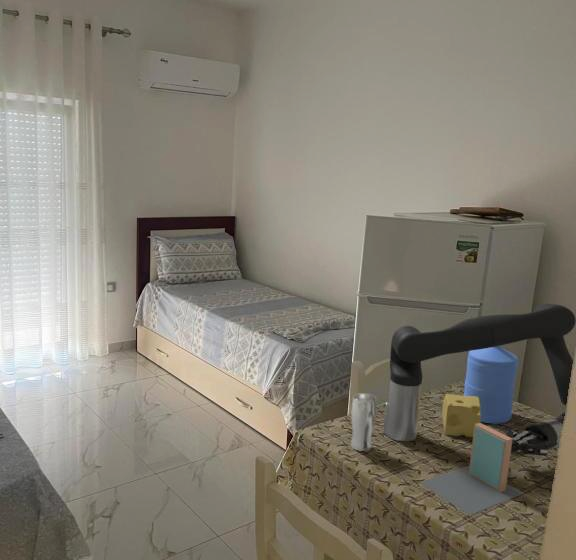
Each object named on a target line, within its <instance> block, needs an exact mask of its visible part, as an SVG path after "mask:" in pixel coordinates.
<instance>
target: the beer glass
mask: <svg viewBox="0 0 576 560" xmlns="http://www.w3.org/2000/svg"><path fill="white" fill-rule="evenodd" d="M350 410H351V412H350V415H351V418H350V420H351V428H352V429H351V430H352V437H351V441H350V448H351V447H352V448H353V450H354V449H355V450H354V451H356V450H359V451H358V452H361V451H365V452H369V451H371V450H372V448H373V447H372V433H373V429H374V425H375V421H376V416H377V396H375V395H373V394H371V393H365V392H359V393H355V394H353V396H352V404H351V409H350ZM352 448H351V449H352Z"/></svg>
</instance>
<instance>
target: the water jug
mask: <svg viewBox="0 0 576 560" xmlns="http://www.w3.org/2000/svg"><path fill="white" fill-rule="evenodd" d="M466 361H467V365H466V375H465V380H464V393H463V396H477V397H478V398H479V402H480V414H481V422H480V423H484V424H491V425H496V424H499V425H500V424H504V423H508V422H509V421H510V420H511V419H512V413H513V403H514V398H513V397H514V390H515V384H516V379H517V372H518V368H519V358H518V356H516V355H515V354H514V353H512V352H510V351H509V350H507V349H505V348H503V347H501V345H500V346H496V347H491V348H485V349H479V350H472V351H468V356H467V359H466Z"/></svg>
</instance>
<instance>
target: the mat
mask: <svg viewBox="0 0 576 560" xmlns="http://www.w3.org/2000/svg"><path fill="white" fill-rule="evenodd" d="M469 468H470V464H469V465H466V466H463V467H460V468H458V469H454V470H451V471H449V472H446V473H443V474H442V473H441V474H440V475H437V476H436V475H435V476H434V477H431V478H428V479H425V480H422V481H419V484H421V485H423V486H424V487H426V488H427V489H428V490H430V491H432V492H433V493H435V494H436V495H438V496H440V497H441V498H442V499H444V500H445V501H447V502H448V503H450V504H452V505H453V506H454V507H456V508H457V509H459V510H460V511H461V512H464V513H465V515H468V516H472V515H474V514H476V513H480V512H481V511H484V510H486V509H489V508H491V507H494V506H496V505H499V504H501V503H504V502H506V501H508V500H510V499H513V498H516V497H519V496H520V495H523V494H524V492H522V491H520V490H519V489H517V488H515V487H513V486H512V485H510V484H508V483H507V484H506V490H505V491H503V492H499V491H497V490H496V489H494V488H492V487H490V486H489V485H487V484H485V483H484V482H482V481H480V480H479V479H477V478H475V477H474V476H472V475H470V474H469Z"/></svg>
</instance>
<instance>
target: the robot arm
mask: <svg viewBox="0 0 576 560" xmlns="http://www.w3.org/2000/svg"><path fill="white" fill-rule="evenodd" d="M575 326H576V316H575V314H574V312H573V311H572V310H571V309H570V308H568V307H566V306H564V305H561V304H554V303H542V304H540V305H538V306H537V307H536V308H535V309H534V310H533V311H532V312H527V313H521V314H520V313H519V314H491V315H484V316H483V315H482V316H477V317H471V318H467V319H465V320H462V321H460V322H457V323H456V324H454V325H452V326H449V327H447V328H445V329H442V330H435V331H428V332H421V331H420V330H419V329H418V328H416V327H414V326H411V325H404V326H401V327H399V328H398V329H397V330H395V331H394V333H393V334H392V338H391V342H390V344H391V345H390V359H389V369H390V379H389V388H388V389H389V390H388V402H386V403H385V404H384V414H383V415H384V416H383V426H382V433H383V434H384V435H386V436H387V437H388V438H389V439H392V440H395V441H398V442H412V441H414V440H416V438H417V433H418V426H419V425H418V424H419V414H420V403H421V395H422V384H423V371H422V362H424V361H427V360H431V359H434V358H438V357H441V356H446V355H451V354H457V353H464V352H465V353H466V352H469V351H472V350H479V349H485V348H491V347H496V346H500V347H501V346H504V345H509V344H510V345H511V344H513V343H518V342H521V341H526V340H532V339H540V341H541V343H542V346H543V349H544V351H545V353H546V356H547V359H548V361H549V364H550V367H551V371H552V374H553V378H554V381H555V384H556V385H555V386H556V388H557V393H558V395H559V399H560V402H561V404H562V405H564V406H566V403H567V396H568V389H569V383H570V377H571V370H572V364H573V361H574V360H573V357H572V356H571V354H570V353H571V352H569V349H568V347H567V344H566V341H565V338H564V337H565V336H567V335H568V334H570V333H571V332H572V330H573V329H574V327H575ZM565 412H566V411H563V412H562V413H561V414H559V415H558V416H556V417H555V418H551V419H545V420H542V421H539V422H535V423H532V424H529V425H528V426H526V428H525V429H523V430H518V431H517V432H516V431H514V430H512V428H510V427H507V429H506V434H505V435H506V436H508V437H510V438H512V446H511V453H515V452H519V453H520V452H523V454H525V455H532V456H534V455H535V456H544V457H547V456H548V451H549V450H552V449H555V448H557V447H560V446H559V440H560V436H561V431H562V426H563V421H564V416H565Z"/></svg>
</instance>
